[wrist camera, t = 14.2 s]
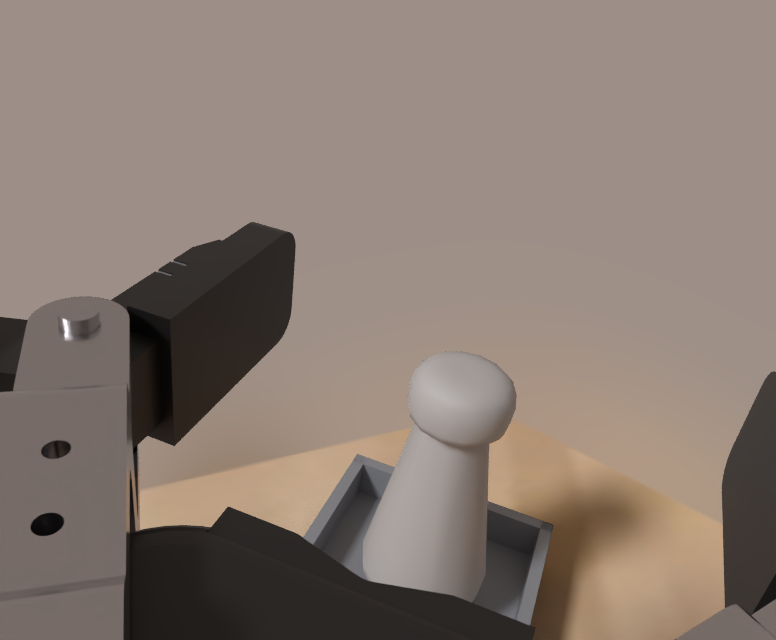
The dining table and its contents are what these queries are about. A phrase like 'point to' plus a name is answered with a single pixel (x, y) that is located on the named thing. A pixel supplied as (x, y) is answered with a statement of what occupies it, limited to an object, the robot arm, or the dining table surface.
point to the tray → (503, 543)
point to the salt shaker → (442, 479)
